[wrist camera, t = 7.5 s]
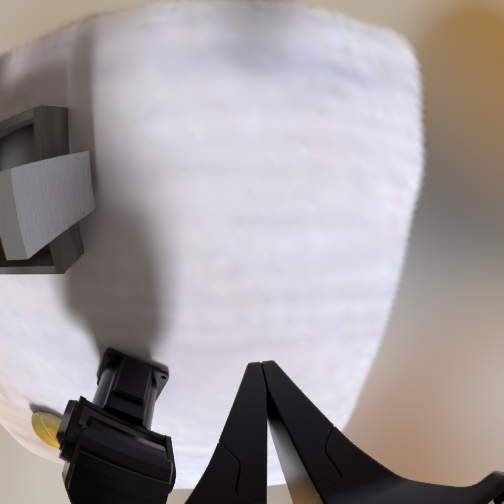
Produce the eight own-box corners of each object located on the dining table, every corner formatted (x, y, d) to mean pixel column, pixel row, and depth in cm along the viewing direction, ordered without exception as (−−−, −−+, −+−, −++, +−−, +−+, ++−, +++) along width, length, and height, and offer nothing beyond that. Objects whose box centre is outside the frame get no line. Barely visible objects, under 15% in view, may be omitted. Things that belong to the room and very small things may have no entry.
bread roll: (92, 441, 30) (88, 461, 27) (54, 434, 30) (49, 451, 27) (64, 412, 27) (56, 433, 23) (26, 405, 27) (18, 423, 23)
